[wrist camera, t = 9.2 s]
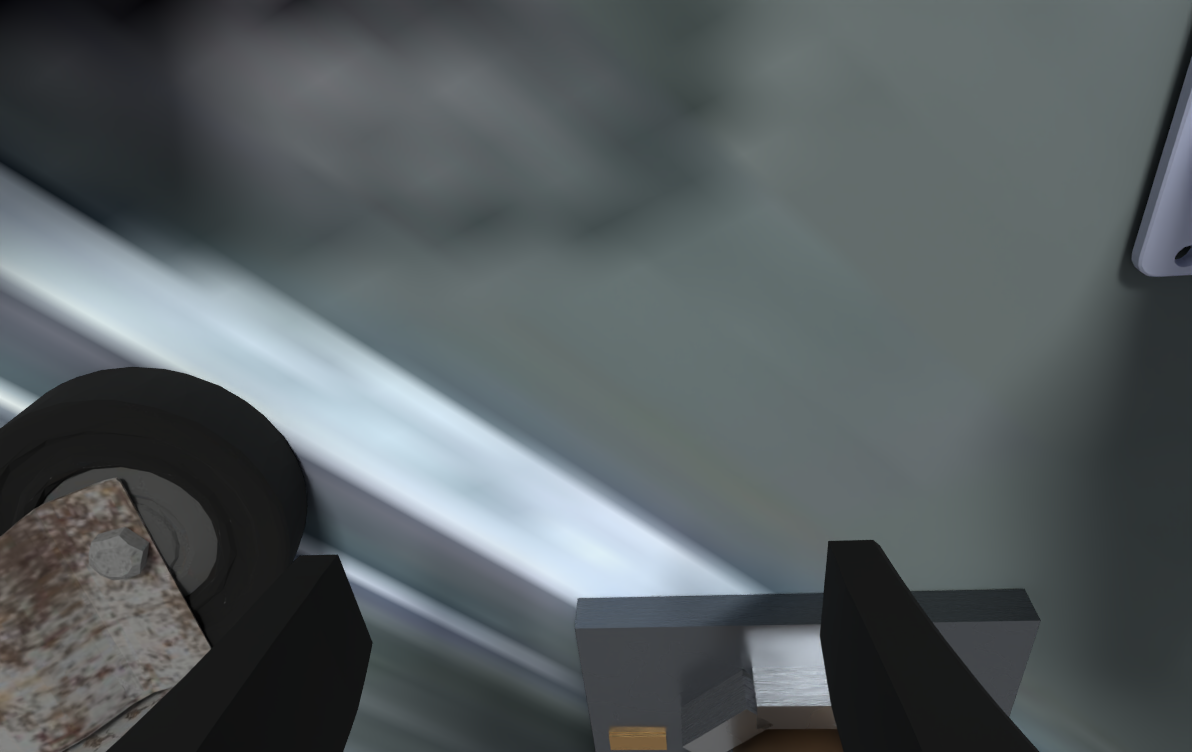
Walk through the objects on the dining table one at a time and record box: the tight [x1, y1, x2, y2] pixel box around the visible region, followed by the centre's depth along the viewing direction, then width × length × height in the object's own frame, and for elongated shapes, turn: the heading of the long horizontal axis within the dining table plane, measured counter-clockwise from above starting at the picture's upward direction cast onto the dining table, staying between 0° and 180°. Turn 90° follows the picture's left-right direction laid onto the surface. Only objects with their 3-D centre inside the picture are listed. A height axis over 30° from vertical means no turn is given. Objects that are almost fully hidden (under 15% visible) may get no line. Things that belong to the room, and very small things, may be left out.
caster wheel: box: [0, 367, 307, 752], centre depth 22 cm, size 7×11×10 cm
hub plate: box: [575, 589, 1041, 752], centre depth 27 cm, size 14×12×3 cm
